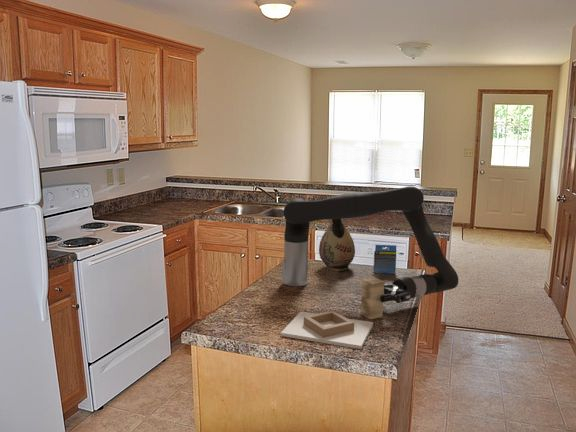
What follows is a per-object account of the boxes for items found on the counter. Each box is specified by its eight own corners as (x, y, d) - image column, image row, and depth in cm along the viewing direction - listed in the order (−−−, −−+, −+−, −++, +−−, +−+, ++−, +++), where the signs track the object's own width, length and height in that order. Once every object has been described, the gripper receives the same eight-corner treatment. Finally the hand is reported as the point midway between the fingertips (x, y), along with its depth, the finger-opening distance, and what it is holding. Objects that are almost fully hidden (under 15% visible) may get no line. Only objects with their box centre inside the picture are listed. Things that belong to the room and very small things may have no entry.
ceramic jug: (317, 263, 225) (319, 196, 220) (352, 263, 225) (355, 197, 219) (319, 274, 209) (320, 202, 203) (356, 275, 208) (359, 203, 203)
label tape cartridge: (394, 271, 215) (395, 243, 212) (395, 274, 211) (397, 245, 208) (373, 270, 215) (374, 242, 213) (373, 273, 212) (375, 244, 209)
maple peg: (360, 314, 166) (362, 279, 164) (372, 311, 169) (374, 277, 167) (370, 319, 162) (372, 283, 160) (382, 316, 165) (384, 281, 162)
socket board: (280, 335, 149) (281, 324, 148) (300, 314, 165) (300, 304, 165) (361, 349, 141) (361, 337, 140) (373, 325, 157) (373, 314, 157)
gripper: (395, 271, 178) (359, 278, 170) (425, 283, 166) (387, 290, 157) (394, 291, 179) (358, 299, 171) (423, 304, 167) (386, 313, 159)
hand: (372, 295), depth 164 cm, fingers open, 8 cm apart
